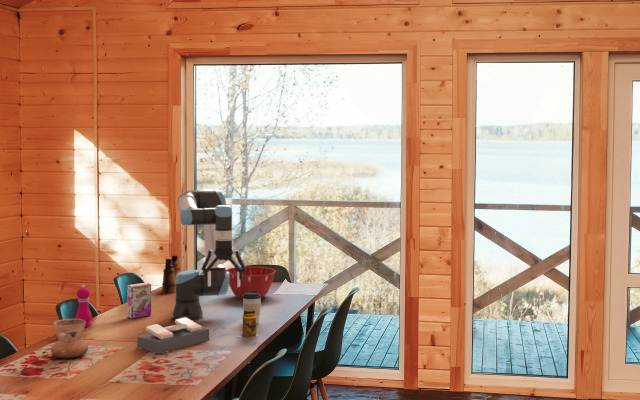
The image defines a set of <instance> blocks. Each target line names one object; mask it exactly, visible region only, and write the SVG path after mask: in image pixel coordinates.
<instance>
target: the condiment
mask: <svg viewBox="0 0 640 400" xmlns="http://www.w3.org/2000/svg"><path fill="white" fill-rule="evenodd" d="M242 315H243V316H242V333H240V334H239V335H237V336H236V338H243V339H255V338H257V337H258V336H260V333H259V334H258V333H257V324H256V316H255V310H254V309H246V310H243V314H242Z"/></svg>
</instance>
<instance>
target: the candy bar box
mask: <svg viewBox="0 0 640 400" xmlns="http://www.w3.org/2000/svg"><path fill="white" fill-rule="evenodd" d="M126 287H127V288H126V289H127V290H126V293H127V294H126V300H127V302H126V306H127V307H126V308H127V309H126V311H127V313H126V316H127V318H128V317H129V318H128V319H130V318H131V320H134V319H138V318H139V317H140V318H145V316H146V317H150V315H151V316H152V284H151V283H148V282H142V283H134V284H128V285H126ZM133 318H134V319H133ZM140 318H139V319H140Z"/></svg>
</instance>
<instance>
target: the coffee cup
mask: <svg viewBox="0 0 640 400" xmlns="http://www.w3.org/2000/svg"><path fill="white" fill-rule="evenodd" d="M242 298H243V299H242V306H243V307H242V309H243V311H244V310H246V309H254V310H255V316H256V325H258V324H259V323H260V315H261V304H262V303H261V299H262V298H261V295H260V294H259V293H258V292H256V291H250V292H245V294H244V295H243V297H242Z"/></svg>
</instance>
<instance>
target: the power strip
mask: <svg viewBox="0 0 640 400" xmlns="http://www.w3.org/2000/svg"><path fill="white" fill-rule="evenodd" d="M171 333H173V337H170V338H166V339H162V340H161V339H160V338H158V337H157V336H152V333H150V332H149V333H146V334H142V335H138V336H137V337H136V339H137V340H136V346H137V347H138V348H137V347H136V348H137V349H139V348H141V349H140V350H142V349H145V350H144V351H146V350H147V351H146V352H149V351H151V352H150V353H153V352H155V353H154V354H156V353H158V355H160V354H159V353H161V354H163V353H162V352H164V353H167V352H166V351H168V352H171V350H172V351H174V350H175V351H176V350H179V349H182V347H183V348H185V347H190V346H194V345H197V344H200V343H204V342H208V341H210V328H207V327H203V326H202V329H201V330H197V331H193V332H190V331H188V330H187V329H180V330H178V331H174V332H171Z"/></svg>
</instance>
